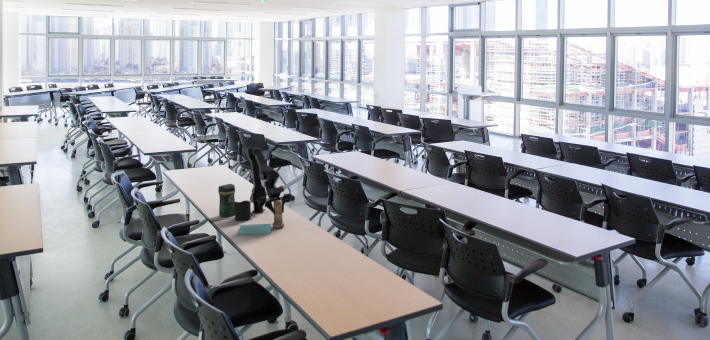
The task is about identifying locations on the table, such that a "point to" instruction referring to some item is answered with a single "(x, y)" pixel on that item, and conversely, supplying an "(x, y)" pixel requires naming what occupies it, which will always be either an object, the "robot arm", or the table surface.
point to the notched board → (255, 229)
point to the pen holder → (242, 210)
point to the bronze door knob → (278, 214)
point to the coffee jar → (226, 200)
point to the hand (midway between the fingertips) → (278, 213)
